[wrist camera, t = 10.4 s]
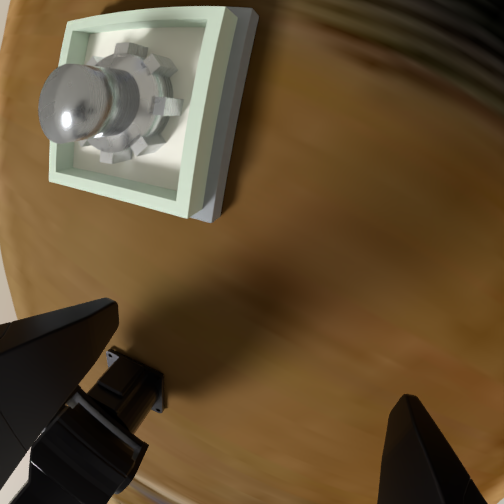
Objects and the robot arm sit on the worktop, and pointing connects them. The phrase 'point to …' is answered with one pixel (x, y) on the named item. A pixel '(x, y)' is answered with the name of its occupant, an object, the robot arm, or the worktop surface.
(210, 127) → the square tray
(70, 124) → the gear
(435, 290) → the worktop surface
